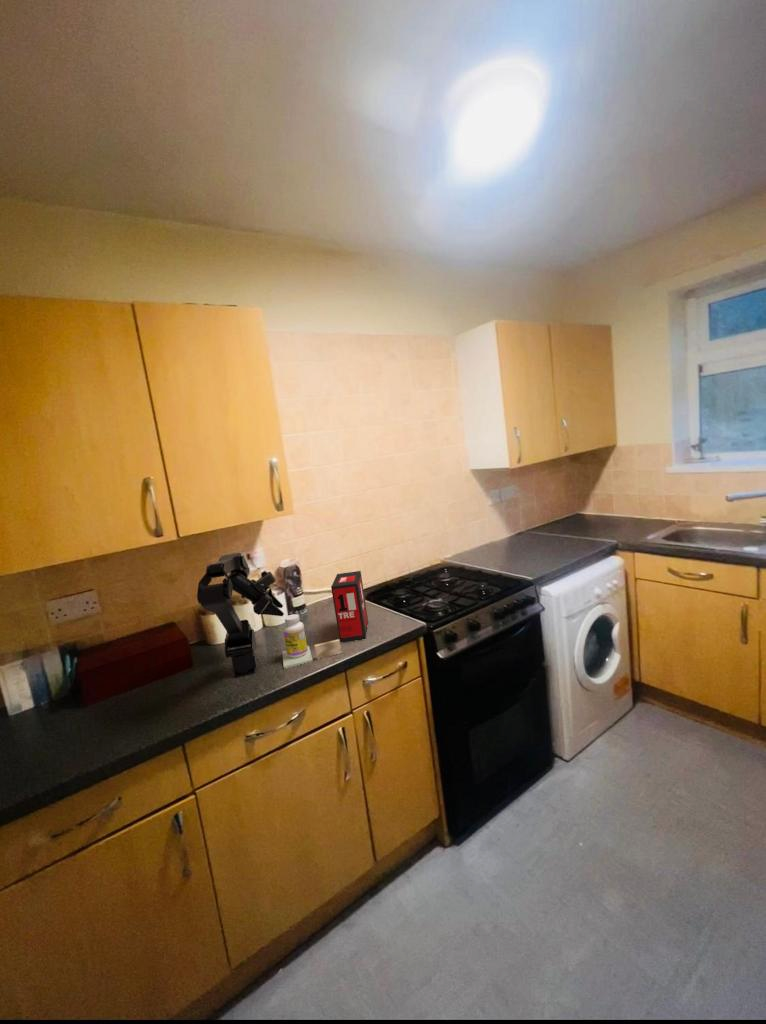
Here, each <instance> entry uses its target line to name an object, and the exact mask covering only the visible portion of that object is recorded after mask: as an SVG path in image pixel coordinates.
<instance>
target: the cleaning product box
mask: <svg viewBox="0 0 766 1024" xmlns="http://www.w3.org/2000/svg"><path fill="white" fill-rule="evenodd" d="M362 577H363V576H362V572H361V570H357V571H350V572H349V571H348V572H341V573H337V574H336V575H335V578H334V580H333V582H332V584H331V587H330V588H331V594H332V599H333V607H334V612H335V613H334V614H335V620H336V625H337V632H338V639H339V640H340V642H343V643H349V642H348V641H351V642H356V641H355V640H358V641H363V640H362V639H367V634H366V632H367V633H368V627H367V625H368V626H369V618H368V611H367V605H366V597H365V592H364V591H365V590H364V584H363V583H364V582H363V578H362Z"/></svg>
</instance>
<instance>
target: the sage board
mask: <svg viewBox="0 0 766 1024" xmlns="http://www.w3.org/2000/svg"><path fill="white" fill-rule="evenodd" d="M307 650H308V651H307V653H306V654H305V655H303V656H301V657H298V658H290V657H288V655H287V650H283V651H281V652H282V653H281V655H282V662H283V663H282V664H283V665H282V666H283V669H284V670H286V669H289V667H290V668H294V667H298V666H301V665H300V664H302V665H305V664H304V663H306V664H308V663H307V662H310V663H312V662H311V661H313V657H312V652H311V648H310V645H307ZM313 662H314V661H313ZM297 665H298V666H297ZM293 666H294V667H293ZM285 668H286V669H285Z"/></svg>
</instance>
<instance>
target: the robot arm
mask: <svg viewBox="0 0 766 1024" xmlns="http://www.w3.org/2000/svg"><path fill="white" fill-rule="evenodd" d="M229 573H230V574H229ZM250 574H251V569H250V567H249V564H248V562H247V560H246V558H245V556H244V555H242V553H241V552H238V553H230V554H225V555H221V556H220V557H219V559H218V561H217V562H215V563H211V564H209V565H207V566H206V570H205V573H204V575H203V576H202V577H201V579H200V580H199V581H198V583H197V584H198V585H197V593H196V599H197V602H198V604H199V605H200V607H202V608H203V610H205V611H207V612H211V613H212V612H213V613H214V614H215V616H216V617H217V619H218V621H219V622H220V623H221V625H222V627H223V629H225V631H226V633H225V634H226V635H225V638H224V655H225V658H227V659H228V658H231V664H232V670H233V678H238V677H243V676H246V675H250V674H253V673H256V669H257V667H258V664H257V658H256V653H255V650H256V649H257V643H256V636H255V635H256V634H255V630H254V628H253V627H252V626H251V624H250V622H249V620H248V619H242V620H241V619H240V617H239V616H238V614H237V612H236V610H235V609H234V607H233V605H232V598H233V592H235V593H236V594H238V595H239V596H240V598H241V599H243V600H244V599H247V601H250V602H251V605H253V607H252V609H253V612H254V614H256V615H258V616H259V615H261V616H262V615H265V616H274V617H275V616H276V617H283V616H284V615H285V613H284V612H283V611H282V610H281V609H282V608H283V607H284V605H283V604H282V602H281V601H280V600H278V598H276V596H275V595H274V594H273V590H272V587H271V585H273V584H274V583H275V582H276V577H275V576H274V575H273V573H272V572H271V571H266V570H263V571H262V572H261V573H260V577H259V578H258V579H257V580H255V579H250V578H248V577H249V576H250ZM223 577H224V578H223ZM215 578H223V580H221V583H214V584H210V583H211V582H212V580H213V579H215ZM239 647H240V648H239Z"/></svg>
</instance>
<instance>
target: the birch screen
mask: <svg viewBox="0 0 766 1024" xmlns="http://www.w3.org/2000/svg"><path fill="white" fill-rule="evenodd" d="M314 649H315V650H314V651H315V655H316V659H318V660H321V659H320V658H322V659H326V658H330V657H329V656H331V657H334V656H333V655H335V656H337V655H336V654H339V655H341V654H340V653H342V647H341V643H340V639H339V638H337V639H333V640H330V641H325V642H322V643H318V644H314ZM325 657H326V658H325Z"/></svg>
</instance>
